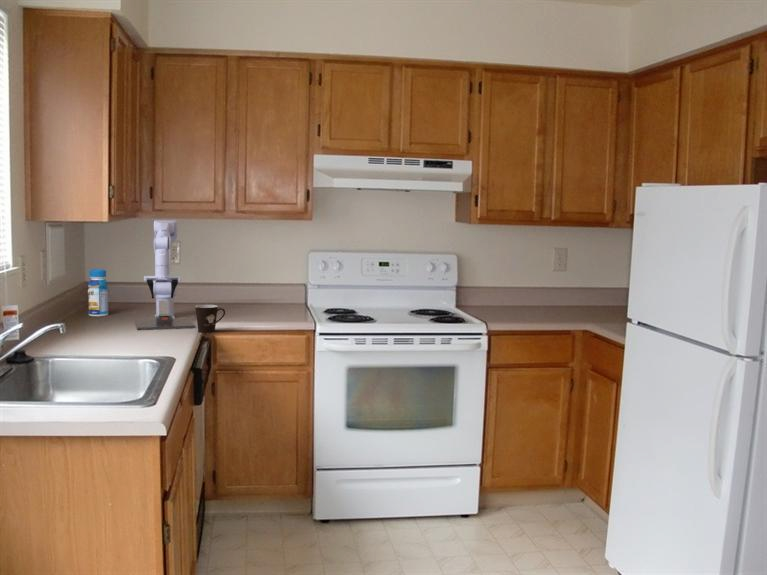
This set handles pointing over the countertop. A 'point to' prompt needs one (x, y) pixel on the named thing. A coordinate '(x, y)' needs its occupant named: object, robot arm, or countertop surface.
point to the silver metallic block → (163, 307)
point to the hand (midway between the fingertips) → (162, 298)
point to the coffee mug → (207, 317)
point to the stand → (163, 323)
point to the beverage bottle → (98, 293)
